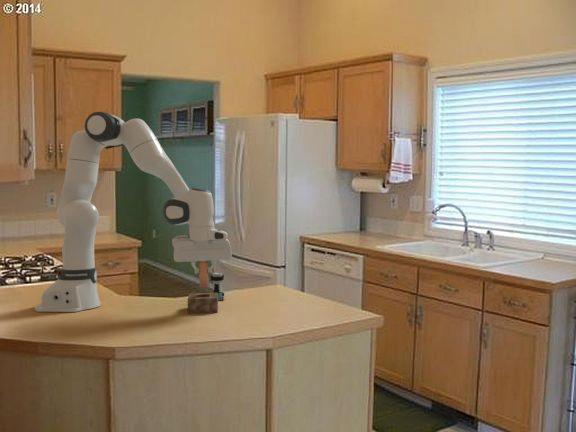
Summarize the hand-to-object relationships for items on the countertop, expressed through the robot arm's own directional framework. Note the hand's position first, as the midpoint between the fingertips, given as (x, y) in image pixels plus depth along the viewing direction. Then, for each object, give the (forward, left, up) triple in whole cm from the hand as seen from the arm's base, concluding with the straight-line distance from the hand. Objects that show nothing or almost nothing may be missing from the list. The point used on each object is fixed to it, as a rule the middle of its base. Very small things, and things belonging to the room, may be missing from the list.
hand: (203, 273), depth 219 cm
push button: (+5, +17, -13) cm, 22 cm away
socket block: (0, 0, -13) cm, 13 cm away
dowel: (0, 0, -5) cm, 5 cm away
